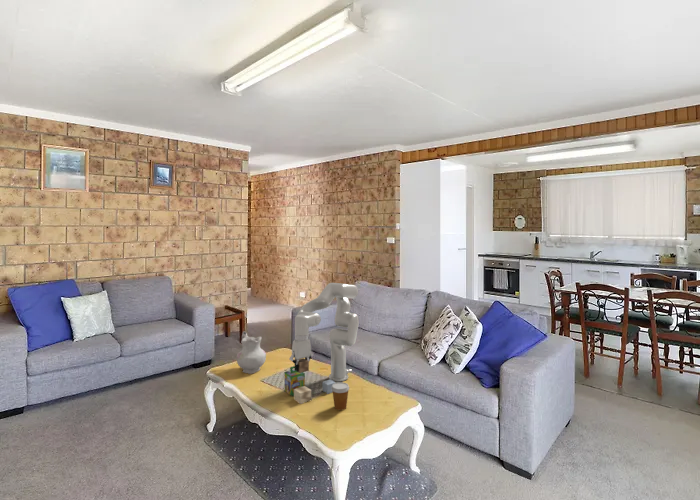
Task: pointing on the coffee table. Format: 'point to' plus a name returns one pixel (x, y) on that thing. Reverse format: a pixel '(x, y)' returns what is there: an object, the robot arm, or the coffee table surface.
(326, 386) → the slate-blue block
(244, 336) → the ceramic pitcher
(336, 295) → the robot arm
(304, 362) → the walnut block
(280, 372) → the coffee table surface
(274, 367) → the coffee table surface
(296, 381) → the chalk box
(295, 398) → the maple block
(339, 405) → the disposable coffee cup
